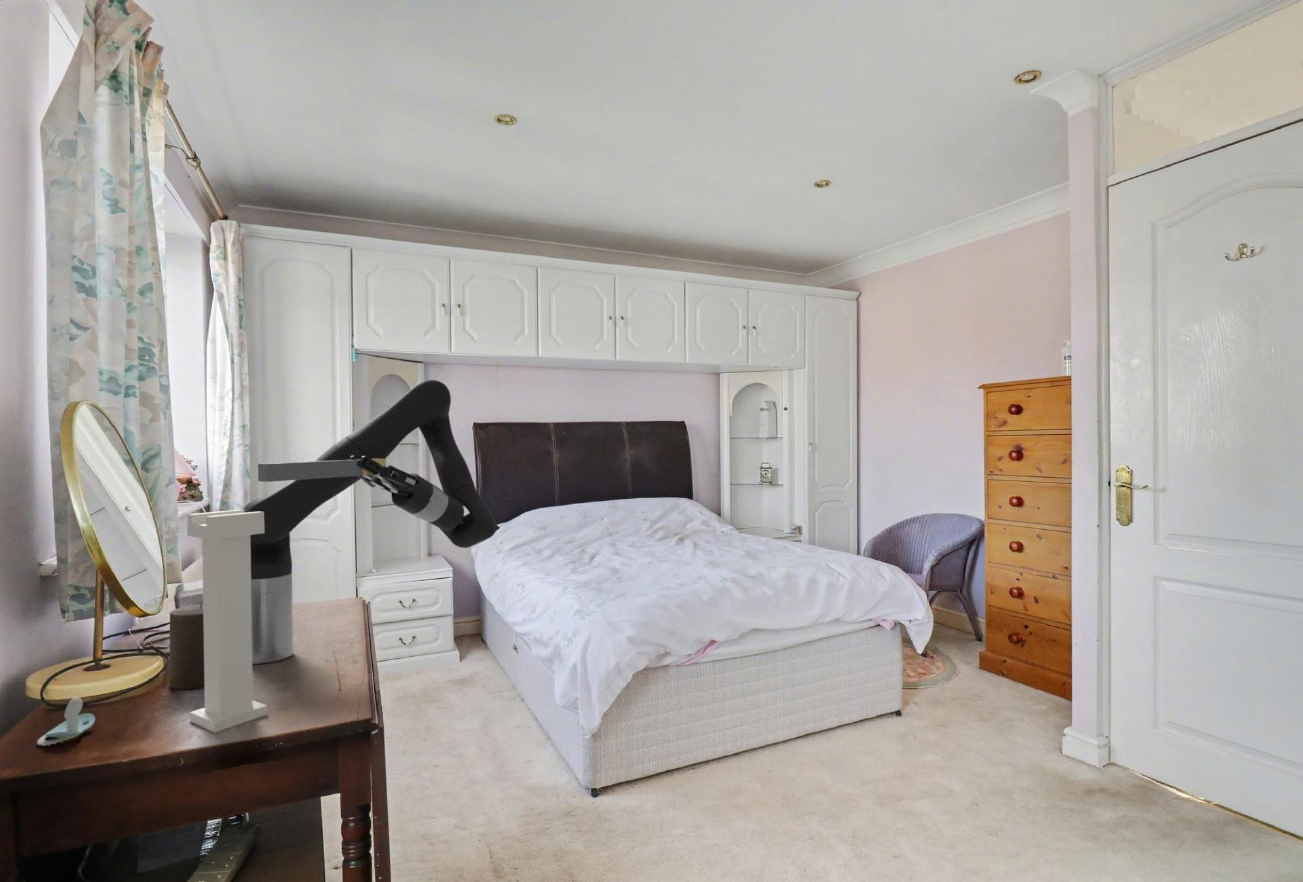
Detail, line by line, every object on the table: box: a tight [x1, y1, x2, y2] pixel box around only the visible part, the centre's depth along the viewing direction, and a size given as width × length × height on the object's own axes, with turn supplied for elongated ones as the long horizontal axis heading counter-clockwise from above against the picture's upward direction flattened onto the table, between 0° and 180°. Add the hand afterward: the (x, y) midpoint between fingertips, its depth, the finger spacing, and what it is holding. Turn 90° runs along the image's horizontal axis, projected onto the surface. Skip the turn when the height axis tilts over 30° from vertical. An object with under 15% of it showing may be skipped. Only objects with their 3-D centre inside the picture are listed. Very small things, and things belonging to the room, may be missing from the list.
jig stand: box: [186, 509, 268, 733], centre depth 111 cm, size 8×8×34 cm
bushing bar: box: [257, 458, 387, 483], centre depth 125 cm, size 3×23×3 cm, turn 147°
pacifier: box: [36, 696, 96, 747], centre depth 104 cm, size 7×6×6 cm
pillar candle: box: [168, 601, 205, 691], centre depth 128 cm, size 10×10×15 cm
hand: (356, 460), depth 130 cm, fingers closed on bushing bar, 3 cm apart
